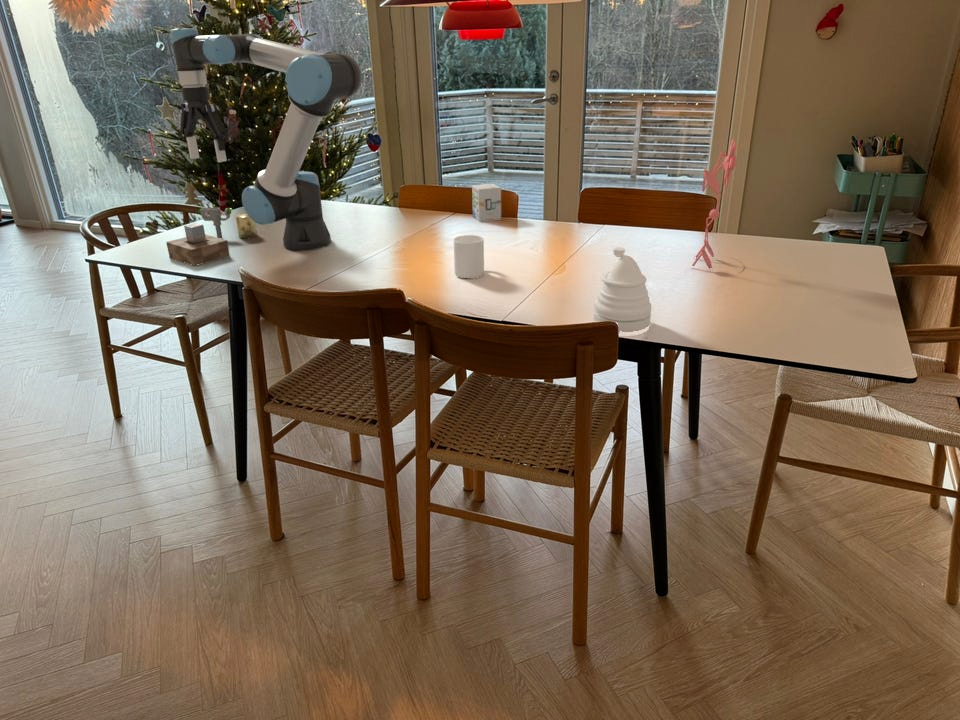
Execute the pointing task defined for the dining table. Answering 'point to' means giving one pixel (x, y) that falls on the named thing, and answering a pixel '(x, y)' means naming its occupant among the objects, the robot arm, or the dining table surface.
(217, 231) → the mechanical component
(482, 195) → the ink box
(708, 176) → the pink branching twig
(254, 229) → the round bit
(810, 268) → the dining table surface
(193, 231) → the square bit
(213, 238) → the bore block
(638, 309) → the honey pot
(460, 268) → the mug
